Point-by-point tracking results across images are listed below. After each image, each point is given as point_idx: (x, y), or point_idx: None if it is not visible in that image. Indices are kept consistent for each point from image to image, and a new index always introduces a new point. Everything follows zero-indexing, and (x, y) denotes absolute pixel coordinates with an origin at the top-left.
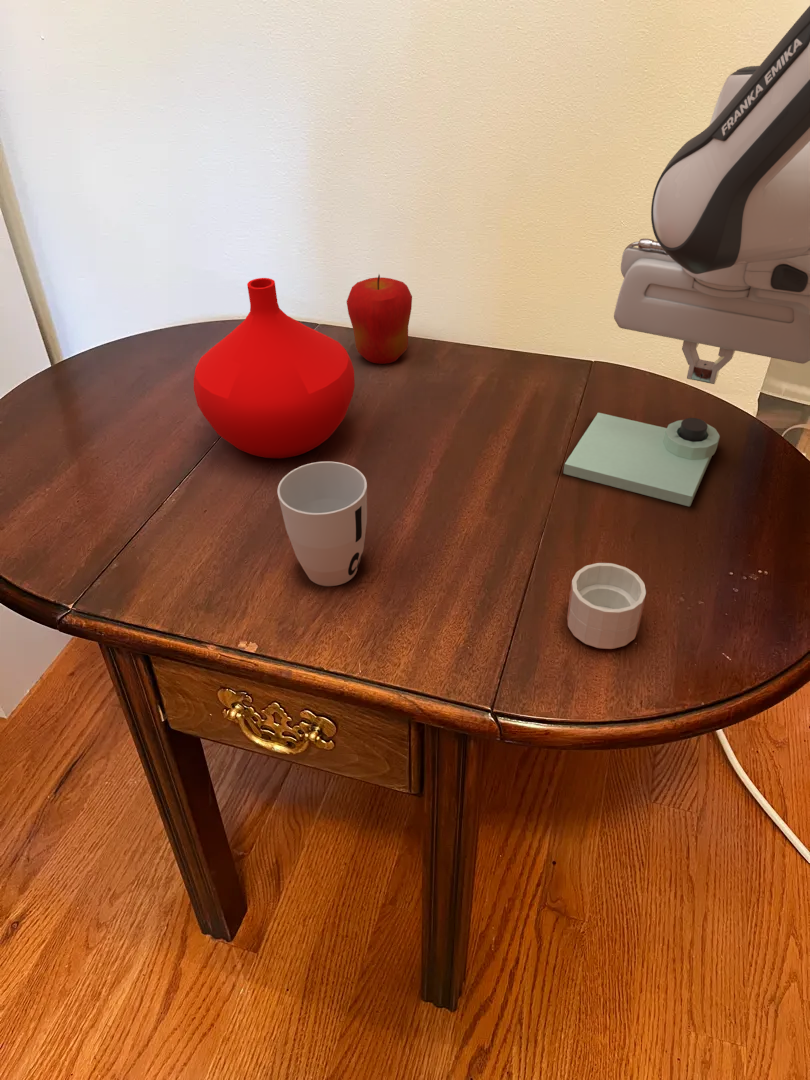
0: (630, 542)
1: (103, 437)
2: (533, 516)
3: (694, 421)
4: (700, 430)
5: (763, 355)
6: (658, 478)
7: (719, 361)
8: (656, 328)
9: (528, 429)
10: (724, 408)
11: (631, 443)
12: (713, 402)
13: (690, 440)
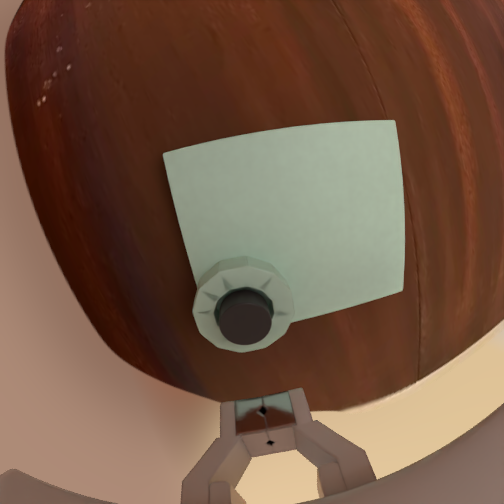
0: (209, 21)
1: None
2: (357, 14)
3: (250, 333)
4: (225, 313)
5: (79, 496)
6: (240, 166)
7: (220, 465)
8: (489, 443)
9: (455, 208)
10: None
11: (332, 243)
12: None
13: (236, 291)
